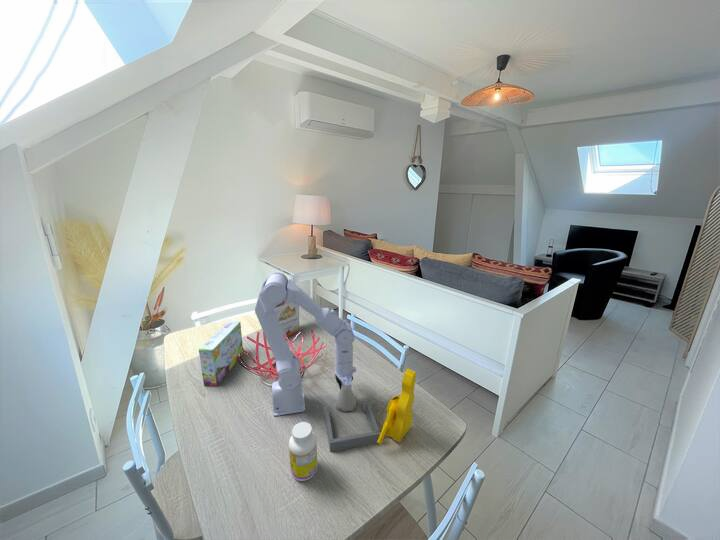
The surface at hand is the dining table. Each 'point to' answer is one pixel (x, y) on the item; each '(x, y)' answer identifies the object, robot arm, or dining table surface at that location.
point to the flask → (345, 400)
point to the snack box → (221, 353)
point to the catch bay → (355, 439)
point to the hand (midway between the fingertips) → (344, 393)
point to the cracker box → (288, 317)
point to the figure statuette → (400, 410)
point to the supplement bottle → (303, 452)
